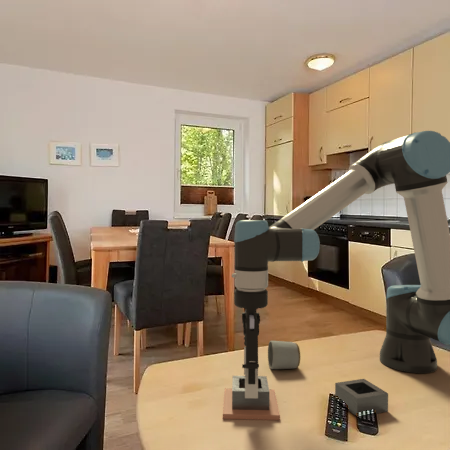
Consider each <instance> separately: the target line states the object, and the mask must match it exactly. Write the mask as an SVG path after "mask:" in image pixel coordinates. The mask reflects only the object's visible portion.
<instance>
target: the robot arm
mask: <svg viewBox="0 0 450 450" xmlns="http://www.w3.org/2000/svg"><path fill="white" fill-rule="evenodd" d="M449 173H450V141H449V139H448V138H447V137H446V136H444V135H442V134H441V133H440V132H438V131H434V130H423V131H417V132H415V131H414V132H413V133H410V134H408V135H404V136H400V137H398V138H394V139H392V140H388V141H384V142H383V143H381V144H379V145H377V146H376V147H374V148H373V149H372V150H370V151H369V152H367V153H366V154H365V155H363V156H362V157H361V158H359V159H358V160H356V161H355V162H354V163H352V164H350V166H349V167H348V171H347V172H346V173H345V174H343V175H341V176H340V177H339V178H338V179H336V180H334V181H333V182H331V183H330V184H328V185H327V186H326V187H325V188H323V189H322V190H320V191H318V192H317V193H316V194H314V195H313V196H311V197H310V198H309V199H307V200H306V201H305V202H303V203H302V204H300V205H298V206H297V207H296V208H294V209H293V210H291V211H290V212H289V213H287V214H286V215H284V216H283V217H281V218H280V219H279V220H277V221H276V222H274V223H273V224H271V225H270V226H269V223H268V221H267V220H266V219H265V220H263V219H262V220H261V219H260V220H259V219H255V220H253V219H252V220H251V219H242V220H237V222H236V223H235V227H234V239H233V242H234V273H232V274H231V277H232V278H233V279H234V287H235V289H234V295H233V296H234V297H233V298H234V299H233V304H234V306H236V307H237V308H240V309H244V312H241V323H242V328H243V330H242V331H243V336H244V337H243V340H244V342H243V345H244V347H243V348H244V349H243V363H242V367H241V369H243V376H245V398H258V376H259V367H260V364H259V336H260V335H259V334H260V323H261V315H260V312H257V310H258V309H264V308H266V307H267V306H268V303H269V299H268V298H269V297H268V296H269V295H268V292H269V291H268V290H267V288H268V287H269V262H272V263H273V262H301V263H304V262H307V261H314V260H315V259H317V257H318V256H319V253H320V249H321V248H320V245H321V244H320V243H321V242H320V237H319V234H318V233H317V231H315V229H317V228H319V226H321V225H323V224H324V223H325V222H327V221H329V220H330V219H331V218H332V217H334V216H335V215H336V214H339V212H341V211H342V210H344V209H345V208H346V207H348V206H349V205H351V204H352V203H353V202H355V201H356V200H358V199H359V198H361V197H362V196H363V195H364V194H365V195H369V194H372V193H374V192H375V191H376V190H378V189H381V188H382V187H385V186H390V185H394V188H395V192H396V193H397V194H398V195H400V196H401V197H403V200H404V205H405V211H406V216H407V220H408V226H409V231H410V236H411V240H412V241H411V242H412V247H413V252H414V256H415V257H414V258H415V261H416V267H417V272H418V277H419V282H420V284H395V285H390V286H388V288H387V290H386V298H385V303H386V308H385V309H386V310H385V313H386V317H385V319H386V321H385V322H386V323H385V324H386V325H385V326H386V331H385V337H384V340H383V341H382V345H381V348H380V351H379V361H380V362H381V363H382V364H383V365H384V366H386V367H388V368H391V369H394V370H397V371H400V372H405V373H413V374H429V373H434V372H436V371H437V370H438V360H437V355H436V353H435V351H434V350H435V349H434V347H433V343H432V341H431V340H432V339H433V340H435V341H438V342H440V343H441V345H442V344H443V345H446V346H450V227H449V223H448V222H449V221H448V216H447V211H446V207H445V202H444V201H445V200H444V196H443V195H444V194H443V189H444V188H445V187H446V186H447V184H448V182H449V181H448V177H447V175H448V174H449Z"/></svg>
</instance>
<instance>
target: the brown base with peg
mask: <svg viewBox="0 0 450 450" xmlns="http://www.w3.org/2000/svg"><path fill="white" fill-rule="evenodd" d="M222 405H223V407H222V419H223V420H224V419H225V420H260V421H263V420H264V421H266V420H268V421H281V413H280V410H279V404H278V400H277V395H276V391H275V389H270V388H269V410H232V388H228V387H227V388H226V387H225V388H224V395H223V404H222Z"/></svg>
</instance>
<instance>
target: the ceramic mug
mask: <svg viewBox="0 0 450 450" xmlns="http://www.w3.org/2000/svg"><path fill="white" fill-rule="evenodd" d="M267 361H268V362H267V363H268V367H269V369H270V370H293V369H297V368H299V366H300V364H301V350H300V345H298V343H297V342H294V341H283V340H282V341H281V340H269V342H268V347H267Z"/></svg>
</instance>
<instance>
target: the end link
mask: <svg viewBox="0 0 450 450" xmlns="http://www.w3.org/2000/svg"><path fill="white" fill-rule="evenodd" d="M231 385H232V388H231V389H232V410H269V389H270V387H269V383H268V377H267V376H265V375H264V376H263V375H258V398H245V375H232V383H231Z"/></svg>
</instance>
